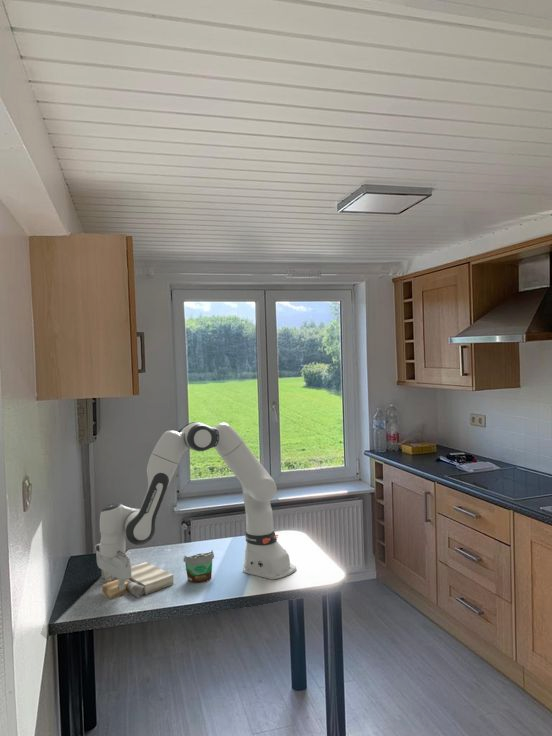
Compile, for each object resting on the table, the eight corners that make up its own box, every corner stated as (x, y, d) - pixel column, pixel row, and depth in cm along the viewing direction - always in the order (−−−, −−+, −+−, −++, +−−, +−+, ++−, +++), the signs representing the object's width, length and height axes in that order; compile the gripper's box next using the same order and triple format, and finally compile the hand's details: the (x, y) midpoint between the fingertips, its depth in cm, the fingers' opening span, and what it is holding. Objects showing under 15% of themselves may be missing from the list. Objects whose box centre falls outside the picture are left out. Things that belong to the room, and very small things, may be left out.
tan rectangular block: (134, 589, 192) (134, 580, 192) (110, 599, 185) (109, 589, 185) (126, 585, 196) (126, 576, 196) (102, 594, 189) (101, 584, 189)
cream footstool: (173, 583, 196) (173, 574, 196) (135, 598, 184) (135, 588, 184) (146, 570, 210) (145, 561, 210) (109, 583, 199) (109, 573, 198)
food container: (188, 587, 192) (188, 560, 192) (184, 581, 198) (183, 555, 198) (219, 579, 198) (218, 554, 198) (214, 574, 203) (213, 549, 203)
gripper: (135, 552, 184) (136, 590, 184) (108, 540, 199) (109, 575, 199) (118, 557, 180) (120, 596, 180) (92, 544, 194) (94, 580, 194)
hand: (114, 585), depth 189 cm, fingers open, 8 cm apart
